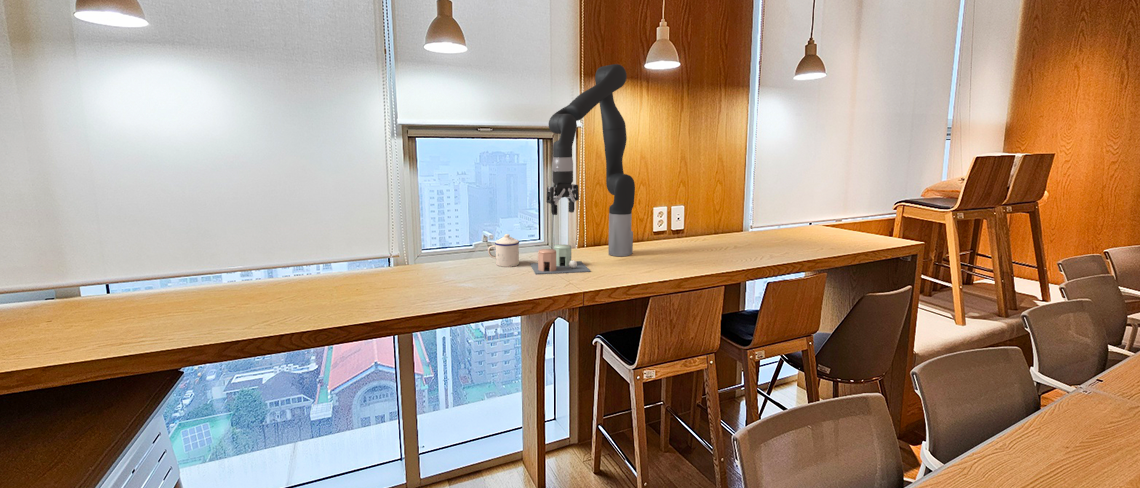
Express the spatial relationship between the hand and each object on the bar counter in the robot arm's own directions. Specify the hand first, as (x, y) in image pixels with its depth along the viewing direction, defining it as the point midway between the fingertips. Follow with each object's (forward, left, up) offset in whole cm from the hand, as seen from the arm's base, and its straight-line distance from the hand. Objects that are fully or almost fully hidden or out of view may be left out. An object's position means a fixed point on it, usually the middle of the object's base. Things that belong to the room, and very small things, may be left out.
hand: (563, 213), depth 204 cm
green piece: (0, 0, -19) cm, 19 cm away
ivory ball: (+1, +7, -19) cm, 21 cm away
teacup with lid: (+18, -14, -20) cm, 30 cm away
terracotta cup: (+9, +3, -19) cm, 22 cm away
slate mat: (+4, +3, -20) cm, 20 cm away
